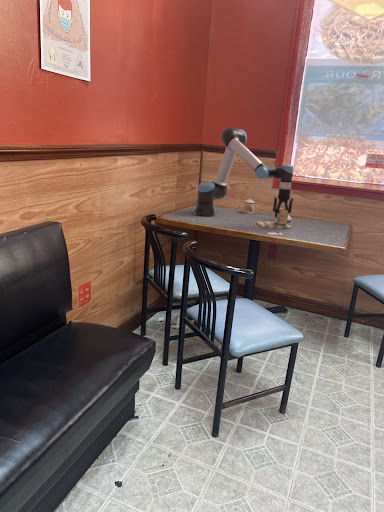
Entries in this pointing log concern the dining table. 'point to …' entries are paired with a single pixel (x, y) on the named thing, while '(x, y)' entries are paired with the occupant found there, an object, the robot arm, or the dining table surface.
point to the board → (272, 225)
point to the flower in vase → (288, 203)
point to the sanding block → (282, 216)
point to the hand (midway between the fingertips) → (280, 222)
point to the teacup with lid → (249, 206)
